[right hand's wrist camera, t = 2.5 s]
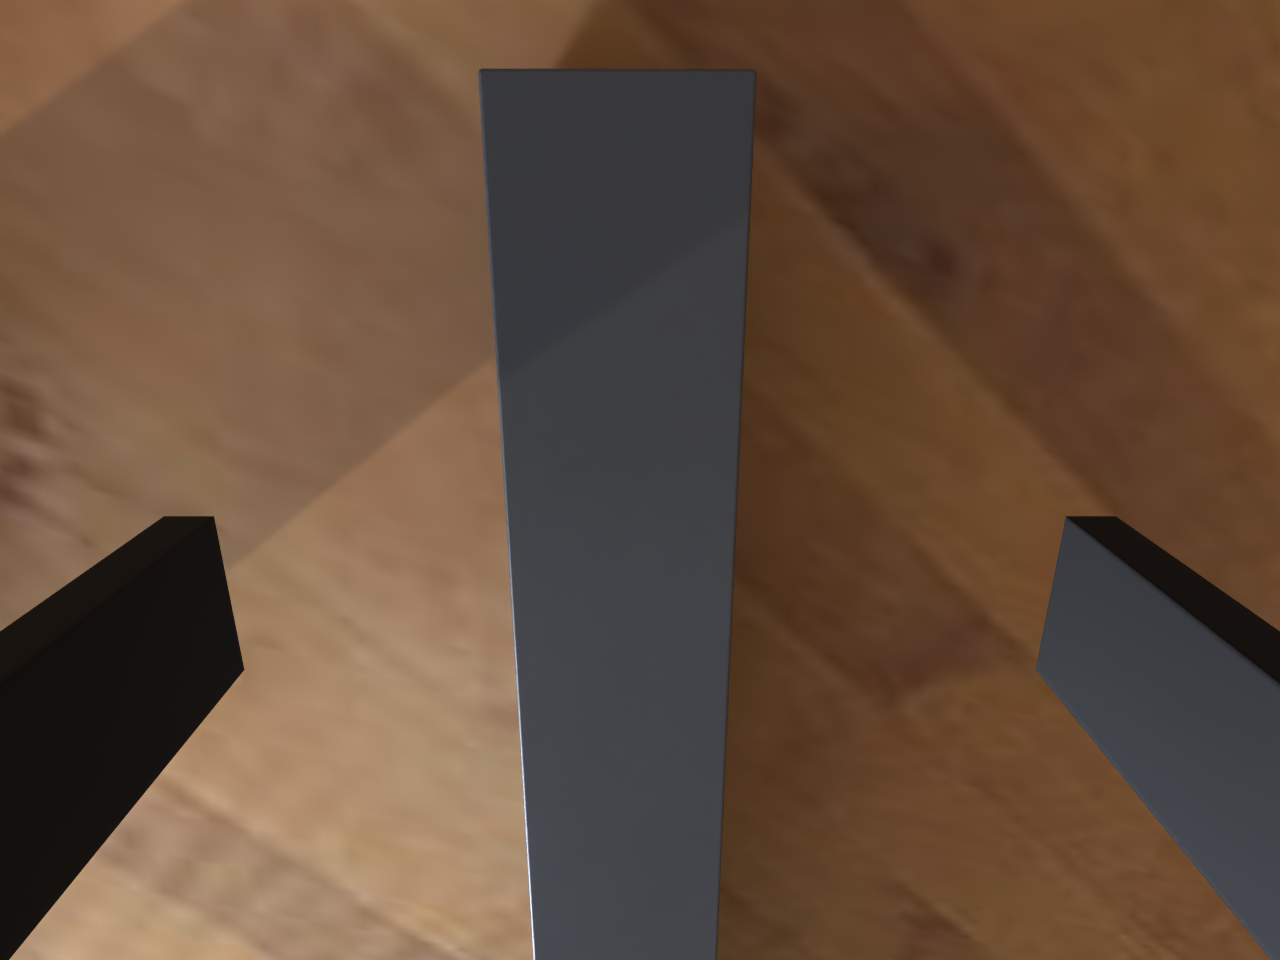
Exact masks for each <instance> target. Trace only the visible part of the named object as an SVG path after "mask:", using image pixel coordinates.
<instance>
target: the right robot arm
mask: <svg viewBox="0 0 1280 960" xmlns="http://www.w3.org/2000/svg"><path fill="white" fill-rule="evenodd" d="M243 671H244V666H243V661H242V656H241V651H240V646H239V641H238V636H237V631H236V626H235V621H234V616H233V611H232V606H231V601H230V596H229V591H228V586H227V580H226V575H225V570H224V565H223V560H222V555H221V550H220V545H219V540H218V535H217V530H216V525H215V520H214V516H164V517H163V518H161V519H160V520H158V521H157V522H155V523H154V524H153V525H151V526H150V527H148V528H147V529H145V530H144V531H143V532H141V533H140V534H138V535H137V536H136V537H134V538H133V539H131V540H130V541H128V542H127V543H126V544H124V545H123V546H121V547H120V548H118V549H117V550H116V551H114V552H113V553H111V554H110V555H108V556H107V557H106V558H104V559H103V560H101V561H100V562H99V563H97V564H96V565H94V566H93V567H91V568H90V569H89V570H87V571H86V572H84V573H83V574H81V575H80V576H79V577H77V578H76V579H74V580H73V581H71V582H70V583H69V584H67V585H66V586H64V587H63V588H62V589H60V590H59V591H57V592H56V593H54V594H53V595H52V596H50V597H49V598H47V599H46V600H44V601H43V602H42V603H40V604H39V605H37V606H36V607H34V608H33V609H32V610H30V611H29V612H27V613H26V614H24V615H23V616H22V617H20V618H19V619H17V620H16V621H15V622H13V623H12V624H10V625H9V626H7V627H6V628H5V629H3V630H2V631H0V960H9V959H10V958H11V957H12V955H13V954H14V953H15V952H16V950H17V949H18V948H19V947H20V946H21V944H22V943H23V942H24V941H25V939H26V938H27V937H28V936H29V934H30V933H31V932H32V931H33V930H34V928H35V927H36V926H37V925H38V923H39V922H40V921H41V920H42V918H43V917H44V916H45V915H46V913H47V912H48V911H49V910H50V909H51V907H52V906H53V905H54V904H55V902H56V901H57V900H58V899H59V897H60V896H61V895H62V894H63V893H64V891H65V890H66V889H67V888H68V886H69V885H70V884H71V883H72V881H73V880H74V879H75V878H76V877H77V875H78V874H79V873H80V872H81V870H82V869H83V868H84V867H85V865H86V864H87V863H88V862H89V860H90V859H91V858H92V857H93V856H94V854H95V853H96V852H97V851H98V849H99V848H100V847H101V846H102V844H103V843H104V842H105V841H106V840H107V838H108V837H109V836H110V835H111V833H112V832H113V831H114V830H115V828H116V827H117V826H118V825H119V824H120V822H121V821H122V820H123V819H124V817H125V816H126V815H127V814H128V812H129V811H130V810H131V809H132V808H133V806H134V805H135V804H136V803H137V801H138V800H139V799H140V798H141V796H142V795H143V794H144V793H145V791H146V790H147V789H148V788H149V787H150V785H151V784H152V783H153V782H154V780H155V779H156V778H157V777H158V775H159V774H160V773H161V772H162V771H163V769H164V768H165V767H166V766H167V764H168V763H169V762H170V761H171V759H172V758H173V757H174V756H175V755H176V753H177V752H178V751H179V750H180V748H181V747H182V746H183V745H184V743H185V742H186V741H187V740H188V738H189V737H190V736H191V735H192V734H193V732H194V731H195V730H196V729H197V727H198V726H199V725H200V724H201V722H202V721H203V720H204V719H205V718H206V716H207V715H208V714H209V713H210V711H211V710H212V709H213V708H214V706H215V705H216V704H217V703H218V702H219V700H220V699H221V698H222V697H223V695H224V694H225V693H226V692H227V690H228V689H229V688H230V687H231V685H232V684H233V683H234V682H235V681H236V679H237V678H238V677H239V676H240V674H241V673H242V672H243ZM1036 671H1037V672H1038V673H1039V674H1040V676H1041V677H1042V678H1043V679H1044V681H1045V682H1046V683H1047V684H1048V685H1049V687H1050V688H1051V689H1052V690H1053V692H1054V693H1055V694H1056V695H1057V697H1058V698H1059V699H1060V700H1061V702H1062V703H1063V704H1064V705H1065V706H1066V708H1067V709H1068V710H1069V711H1070V713H1071V714H1072V715H1073V716H1074V718H1075V719H1076V720H1077V721H1078V722H1079V724H1080V725H1081V726H1082V727H1083V729H1084V730H1085V731H1086V732H1087V734H1088V735H1089V736H1090V737H1091V738H1092V740H1093V741H1094V742H1095V743H1096V745H1097V746H1098V747H1099V748H1100V750H1101V751H1102V752H1103V753H1104V755H1105V756H1106V757H1107V758H1108V759H1109V761H1110V762H1111V763H1112V764H1113V766H1114V767H1115V768H1116V769H1117V771H1118V772H1119V773H1120V774H1121V775H1122V777H1123V778H1124V779H1125V780H1126V782H1127V783H1128V784H1129V785H1130V787H1131V788H1132V789H1133V790H1134V791H1135V793H1136V794H1137V795H1138V796H1139V798H1140V799H1141V800H1142V801H1143V803H1144V804H1145V805H1146V806H1147V808H1148V809H1149V810H1150V811H1151V812H1152V814H1153V815H1154V816H1155V817H1156V819H1157V820H1158V821H1159V822H1160V824H1161V825H1162V826H1163V827H1164V828H1165V830H1166V831H1167V832H1168V833H1169V835H1170V836H1171V837H1172V838H1173V840H1174V841H1175V842H1176V843H1177V844H1178V846H1179V847H1180V848H1181V849H1182V851H1183V852H1184V853H1185V854H1186V856H1187V857H1188V858H1189V859H1190V860H1191V862H1192V863H1193V864H1194V865H1195V867H1196V868H1197V869H1198V870H1199V872H1200V873H1201V874H1202V875H1203V877H1204V878H1205V879H1206V880H1207V881H1208V883H1209V884H1210V885H1211V886H1212V888H1213V889H1214V890H1215V891H1216V893H1217V894H1218V895H1219V896H1220V897H1221V899H1222V900H1223V901H1224V902H1225V904H1226V905H1227V906H1228V907H1229V909H1230V910H1231V911H1232V912H1233V913H1234V915H1235V916H1236V917H1237V918H1238V920H1239V921H1240V922H1241V923H1242V925H1243V926H1244V927H1245V928H1246V930H1247V931H1248V932H1249V933H1250V934H1251V936H1252V937H1253V938H1254V939H1255V941H1256V942H1257V943H1258V944H1259V946H1260V947H1261V948H1262V949H1263V950H1264V952H1265V953H1266V954H1267V955H1268V957H1269V958H1270V959H1271V960H1280V631H1278V630H1277V629H1275V628H1274V627H1273V626H1271V625H1270V624H1268V623H1267V622H1265V621H1264V620H1263V619H1261V618H1260V617H1258V616H1257V615H1256V614H1254V613H1253V612H1251V611H1250V610H1248V609H1247V608H1246V607H1244V606H1243V605H1241V604H1240V603H1238V602H1237V601H1236V600H1234V599H1233V598H1231V597H1230V596H1228V595H1227V594H1226V593H1224V592H1223V591H1221V590H1220V589H1218V588H1217V587H1216V586H1214V585H1213V584H1211V583H1210V582H1209V581H1207V580H1206V579H1204V578H1203V577H1201V576H1200V575H1199V574H1197V573H1196V572H1194V571H1193V570H1191V569H1190V568H1189V567H1187V566H1186V565H1184V564H1183V563H1181V562H1180V561H1179V560H1177V559H1176V558H1174V557H1173V556H1172V555H1170V554H1169V553H1167V552H1166V551H1164V550H1163V549H1162V548H1160V547H1159V546H1157V545H1156V544H1154V543H1153V542H1152V541H1150V540H1149V539H1147V538H1146V537H1144V536H1143V535H1142V534H1140V533H1139V532H1137V531H1136V530H1135V529H1133V528H1132V527H1130V526H1129V525H1127V524H1126V523H1125V522H1123V521H1122V520H1120V519H1119V518H1117V517H1116V516H1066V520H1065V525H1064V530H1063V535H1062V540H1061V545H1060V550H1059V555H1058V560H1057V565H1056V570H1055V575H1054V580H1053V586H1052V591H1051V596H1050V601H1049V606H1048V611H1047V616H1046V621H1045V626H1044V631H1043V636H1042V641H1041V646H1040V651H1039V656H1038V661H1037V666H1036Z"/></svg>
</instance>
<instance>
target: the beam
mask: <svg viewBox="0 0 1280 960" xmlns="http://www.w3.org/2000/svg"><path fill="white" fill-rule="evenodd" d="M478 74H479V90H480V106H481V122H482V138H483V154H484V170H485V186H486V202H487V218H488V234H489V250H490V266H491V282H492V298H493V314H494V330H495V347H496V363H497V379H498V395H499V411H500V427H501V443H502V459H503V475H504V491H505V507H506V523H507V539H508V555H509V571H510V587H511V603H512V619H513V635H514V651H515V667H516V683H517V699H518V715H519V731H520V748H521V764H522V780H523V796H524V812H525V828H526V844H527V860H528V876H529V892H530V908H531V924H532V940H533V956H534V960H717V941H718V918H719V896H720V874H721V852H722V829H723V807H724V785H725V763H726V741H727V718H728V696H729V674H730V652H731V629H732V607H733V585H734V563H735V541H736V518H737V496H738V474H739V452H740V430H741V407H742V385H743V363H744V341H745V318H746V296H747V274H748V252H749V230H750V207H751V185H752V163H753V141H754V119H755V96H756V74H757V73H756V70H753V69H480V70H479V73H478Z"/></svg>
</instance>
